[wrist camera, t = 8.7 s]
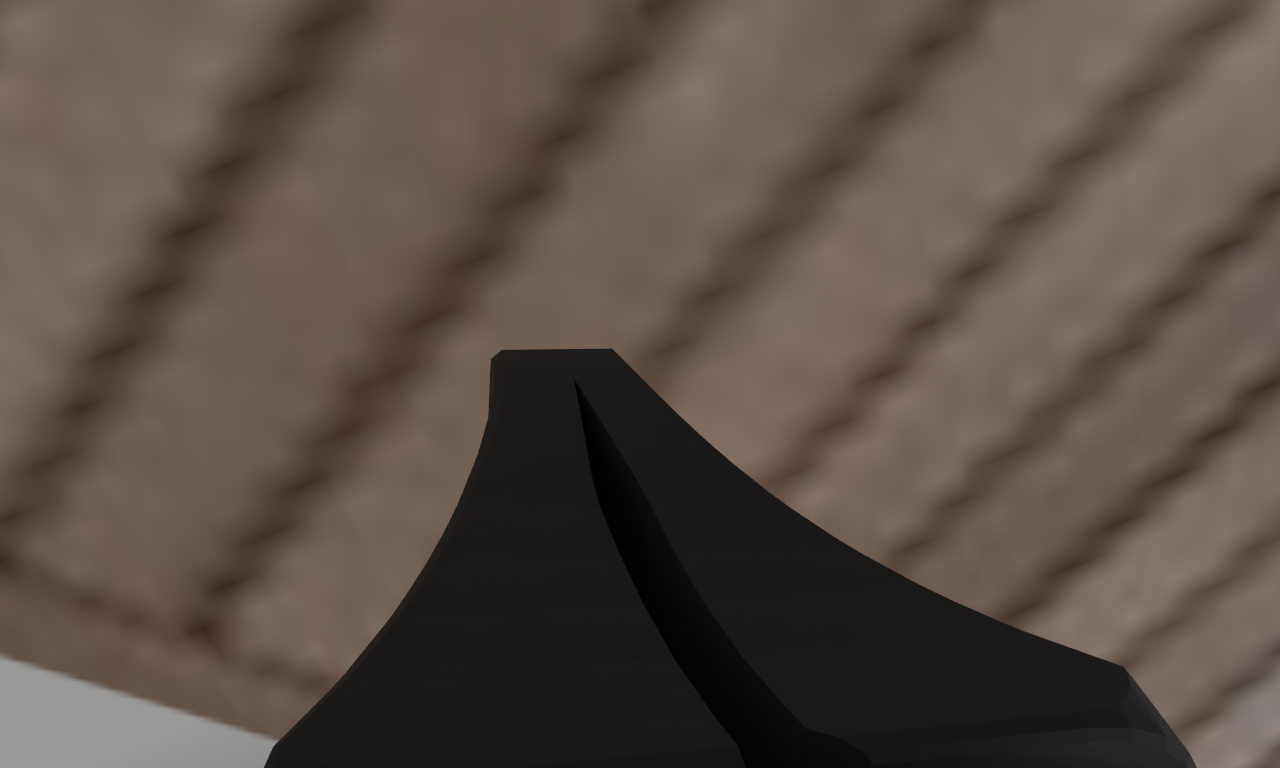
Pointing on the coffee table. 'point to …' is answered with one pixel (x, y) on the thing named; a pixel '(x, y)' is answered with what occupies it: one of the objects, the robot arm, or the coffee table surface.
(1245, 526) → the coffee table surface
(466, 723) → the robot arm
